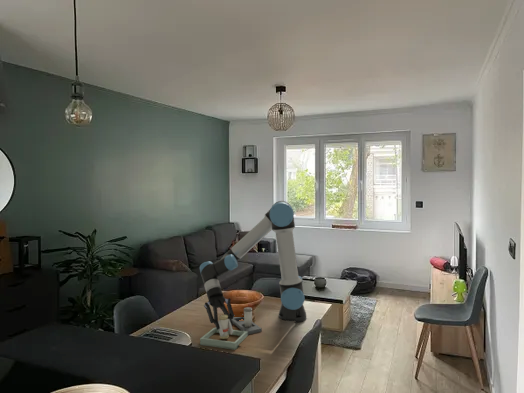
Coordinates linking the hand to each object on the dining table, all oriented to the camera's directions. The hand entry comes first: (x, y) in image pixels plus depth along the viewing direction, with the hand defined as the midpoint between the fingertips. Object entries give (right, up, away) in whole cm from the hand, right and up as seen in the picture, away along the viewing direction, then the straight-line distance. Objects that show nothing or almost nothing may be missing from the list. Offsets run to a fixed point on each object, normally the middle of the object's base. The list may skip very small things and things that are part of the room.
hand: (227, 334), depth 181 cm
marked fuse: (-2, -3, +4) cm, 5 cm away
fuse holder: (+7, -4, +21) cm, 22 cm away
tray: (-2, -5, +4) cm, 6 cm away
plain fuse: (+9, -3, +16) cm, 19 cm away
